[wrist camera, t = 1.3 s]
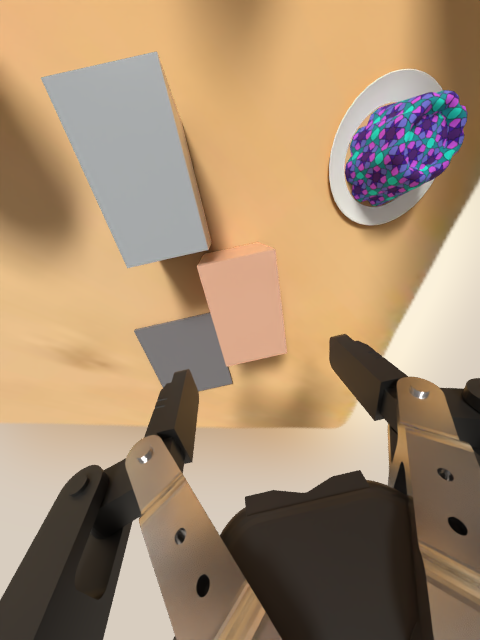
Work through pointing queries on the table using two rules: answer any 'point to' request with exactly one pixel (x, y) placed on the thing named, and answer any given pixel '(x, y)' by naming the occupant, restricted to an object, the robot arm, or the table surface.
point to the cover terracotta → (244, 301)
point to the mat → (186, 351)
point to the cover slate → (133, 156)
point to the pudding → (394, 145)
